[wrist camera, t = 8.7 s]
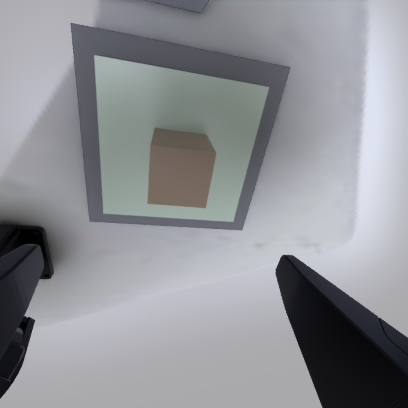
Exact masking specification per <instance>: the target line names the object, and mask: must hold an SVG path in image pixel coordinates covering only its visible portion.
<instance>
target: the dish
mask: <svg viewBox="0 0 408 408" xmlns="http://www.w3.org/2000/svg"><path fill="white" fill-rule="evenodd" d="M147 1H151V2H156V3H160V4H164V5H169V6H173V7H177V8H182V9H186V10H190V11H195V12H199V13H201V12H202V11H203V9H204V7H205V6H206V4H207V2H208V1H209V0H147Z"/></svg>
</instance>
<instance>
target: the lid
mask: <svg viewBox="0 0 408 408" xmlns="http://www.w3.org/2000/svg"><path fill="white" fill-rule="evenodd" d="M94 60H95V78H96V95H97V112H98V130H99V147H100V164H101V182H102V199H103V214H118V215H133V216H148V217H164V218H179V219H194V220H210V221H225V222H233V221H234V217H235V213H236V209H237V206H238V202H239V198H240V194H241V191H242V187H243V183H244V180H245V176H246V172H247V168H248V165H249V161H250V157H251V153H252V150H253V146H254V142H255V138H256V135H257V131H258V127H259V124H260V120H261V116H262V112H263V109H264V105H265V101H266V97H267V94H268V90H269V87H266V86H261V85H256V84H250V83H245V82H239V81H234V80H228V79H223V78H217V77H212V76H207V75H201V74H196V73H190V72H185V71H179V70H174V69H168V68H163V67H158V66H152V65H147V64H141V63H136V62H130V61H125V60H119V59H114V58H108V57H103V56H98V55H94Z"/></svg>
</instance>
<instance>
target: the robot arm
mask: <svg viewBox="0 0 408 408" xmlns="http://www.w3.org/2000/svg"><path fill="white" fill-rule="evenodd" d="M37 232H38V233H37ZM52 275H53V270H52V265H51V260H50V256H49V251H48V246H47V242H46V237H45V232H44V230H43V229H42V228H40V227H31V226H13V225H0V398H1V397H2V396H3V395H4V394H5V392H6V391H7V390H8V389H9V387H10V386H11V384H12V383H13V381H14V380H15V378H16V376H17V375H18V373H19V371H20V369H21V367H22V364H23V361H24V358H25V354H26V351H27V347H28V343H29V340H30V337H31V333H32V330H33V326H34V322H35V320H34V319H32V318H30V317H28V318H27V317H26V316H24V315H25V313H26V311H27V308H28V306H29V304H30V301H31V299H32V296H33V294H34V291H35V289H36V286H37V284H38V281H39V279H50V278H51V277H52ZM276 277H277V281H278V284H279V288H280V292H281V296H282V300H283V303H284V306H285V310H286V313H287V315H288V318H289V321H290V324H291V326H292V329H293V331H294V334H295V337H296V339H297V342H298V345H299V347H300V350H301V352H302V355H303V358H304V360H305V363H306V366H307V368H308V371H309V373H310V376H311V379H312V381H313V384H314V387H315V389H316V392H317V394H318V397H319V400H320V402H321V405H322V407H323V408H408V338H407V337H406V336H405V335H403V334H402V333H400V332H399V331H398V330H396V329H394V328H393V327H392V326H390V325H389V324H387V323H386V322H385V321H384V320H382V319H381V318H378V316H377V315H375V314H374V313H372V312H371V311H370V310H368V309H366V308H365V307H364V306H363V305H361V304H360V303H358V302H357V301H356V300H354V299H353V298H351V297H350V296H349V295H347V294H346V293H345V292H343V291H342V290H340V289H339V288H337V287H336V286H335V285H333V284H332V283H331V282H329V281H328V280H326V279H325V278H324V277H322V276H321V275H319V274H318V273H317V272H315V271H314V270H313V269H311V268H310V267H308V266H307V265H306V264H304V263H303V262H301V261H300V260H299V259H297V258H296V257H294V256H293V255H283V256H281V258H280V261H279V263H278V265H277V268H276Z"/></svg>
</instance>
